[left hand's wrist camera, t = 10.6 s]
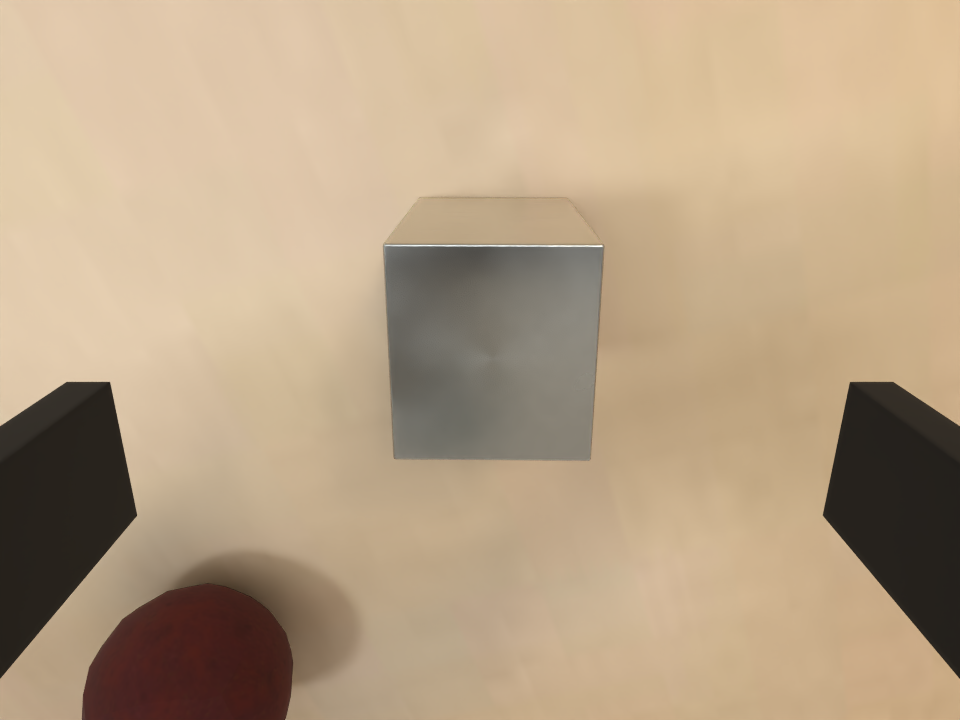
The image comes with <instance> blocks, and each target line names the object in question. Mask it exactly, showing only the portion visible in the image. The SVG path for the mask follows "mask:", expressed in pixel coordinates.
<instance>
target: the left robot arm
mask: <svg viewBox="0 0 960 720" xmlns="http://www.w3.org/2000/svg"><path fill="white" fill-rule="evenodd" d="M136 516H137V512H136V508H135V503H134V498H133V493H132V488H131V483H130V478H129V473H128V468H127V463H126V458H125V453H124V448H123V444H122V439H121V434H120V429H119V424H118V419H117V414H116V409H115V404H114V399H113V394H112V389H111V385H110V382H66V383H65V384H63V385H62V386H60V387H59V388H57V389H56V390H54V391H53V392H51V393H50V394H48V395H47V396H45V397H44V398H42V399H41V400H39V401H38V402H36V403H35V404H33V405H32V406H30V407H29V408H27V409H26V410H24V411H23V412H21V413H20V414H18V415H17V416H15V417H14V418H12V419H11V420H9V421H8V422H6V423H5V424H3V425H2V426H0V678H1V677H2V676H3V675H4V674H5V672H6V671H7V670H8V669H9V668H10V666H11V665H12V664H13V663H14V662H15V660H16V659H17V658H18V657H19V656H20V654H21V653H22V652H23V651H24V650H25V648H26V647H27V646H28V645H29V644H30V643H31V641H32V640H33V639H34V638H35V637H36V635H37V634H38V633H39V632H40V631H41V629H42V628H43V627H44V626H45V625H46V623H47V622H48V621H49V620H50V619H51V618H52V616H53V615H54V614H55V613H56V612H57V610H58V609H59V608H60V607H61V606H62V604H63V603H64V602H65V601H66V600H67V598H68V597H69V596H70V595H71V594H72V592H73V591H74V590H75V589H76V588H77V587H78V585H79V584H80V583H81V582H82V581H83V579H84V578H85V577H86V576H87V575H88V573H89V572H90V571H91V570H92V569H93V567H94V566H95V565H96V564H97V563H98V562H99V560H100V559H101V558H102V557H103V556H104V554H105V553H106V552H107V551H108V550H109V548H110V547H111V546H112V545H113V544H114V542H115V541H116V540H117V539H118V538H119V536H120V535H121V534H122V533H123V532H124V531H125V529H126V528H127V527H128V526H129V525H130V523H131V522H132V521H133V520H134V519H135V517H136ZM823 516H824V517H825V519H826V520H827V521H828V522H829V523H830V525H831V526H832V527H833V528H834V529H835V531H836V532H837V533H838V534H839V535H840V536H841V538H842V539H843V540H844V541H845V542H846V544H847V545H848V546H849V547H850V548H851V550H852V551H853V552H854V553H855V554H856V556H857V557H858V558H859V559H860V560H861V562H862V563H863V564H864V565H865V566H866V567H867V569H868V570H869V571H870V572H871V573H872V575H873V576H874V577H875V578H876V579H877V581H878V582H879V583H880V584H881V585H882V587H883V588H884V589H885V590H886V591H887V592H888V594H889V595H890V596H891V597H892V598H893V600H894V601H895V602H896V603H897V604H898V606H899V607H900V608H901V609H902V610H903V612H904V613H905V614H906V615H907V616H908V618H909V619H910V620H911V621H912V622H913V623H914V625H915V626H916V627H917V628H918V629H919V631H920V632H921V633H922V634H923V635H924V637H925V638H926V639H927V640H928V641H929V643H930V644H931V645H932V646H933V647H934V648H935V650H936V651H937V652H938V653H939V654H940V656H941V657H942V658H943V659H944V660H945V662H946V663H947V664H948V665H949V666H950V668H951V669H952V670H953V671H954V672H955V674H956V675H957V676H958V677H959V678H960V426H958V425H957V424H955V423H954V422H952V421H951V420H949V419H948V418H946V417H945V416H943V415H942V414H940V413H939V412H937V411H936V410H934V409H933V408H931V407H930V406H928V405H927V404H925V403H924V402H922V401H921V400H919V399H918V398H916V397H915V396H913V395H912V394H910V393H909V392H907V391H906V390H904V389H903V388H901V387H900V386H898V385H897V384H895V383H894V382H850V385H849V389H848V394H847V399H846V404H845V409H844V414H843V419H842V424H841V429H840V434H839V439H838V444H837V448H836V453H835V458H834V463H833V468H832V473H831V478H830V483H829V488H828V493H827V498H826V503H825V508H824V512H823Z"/></svg>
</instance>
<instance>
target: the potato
mask: <svg viewBox="0 0 960 720" xmlns="http://www.w3.org/2000/svg"><path fill="white" fill-rule="evenodd" d="M292 671H293V659H292V653H291V649H290V645H289V642H288V639H287V636H286V633H285V631H284V630H283V629H282V627H281V626H280V624H279V623H278V622H277V620H276V619H275V618H274V616H273V615H272V614H271V612H270V611H269V610H268V609H266V608H265V607H264V606H263V605H262V604H260V603H259V602H257V601H256V600H254V599H253V598H252V597H250V596H248V595H245V594H243V593H241V592H238V591H236V590H233V589H230V588H228V587H224V586H219V585H213V584H208V583H207V584H202V585H197V586H191V587H186V588H181V589H176V590H171V591H167V592H165V593H164V594H162V595H160V596H158V597H157V598H155V599H153V600H151V601H150V602H148V603H146V604H144V605H143V606H141V607H139V608H138V609H136V610H135V611H133V612H132V613H131V614H129V615H128V616H127V617H125V618H124V619H122V621H121V622H120V623H119V625H118V626H117V627H116V628H115V630H114V631H113V632H112V634H111V635H110V636H109V638H108V639H107V640H106V642H105V643H104V644H103V645H102V647H101V649H100V650H99V652H98V654H97V655H96V657H95V659H94V660H93V662H92V664H91V665H90V667H89V671H88V676H87V680H86V685H85V689H84V694H83V708H82V720H285V719H286V715H287V711H288V706H289V702H290V697H291V685H292Z"/></svg>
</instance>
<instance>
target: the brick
mask: <svg viewBox="0 0 960 720" xmlns="http://www.w3.org/2000/svg"><path fill="white" fill-rule="evenodd" d="M383 256H384V276H385V296H386V316H387V336H388V355H389V375H390V395H391V415H392V435H393V455H394V459H449V460H566V461H589V460H590V459H591V446H592V430H593V415H594V399H595V384H596V368H597V353H598V337H599V322H600V307H601V291H602V276H603V260H604V244H603V243H602V242H601V240H600V239H599V238H598V237H597V235H596V234H595V233H594V231H593V230H592V229H591V228H590V226H589V225H588V224H587V223H586V221H585V220H584V219H583V217H582V216H581V215H580V214H579V212H578V211H577V210H576V208H575V207H574V206H573V205H572V203H571V202H570V201H569V200H568V198H419V199H418V200H417V201H416V203H415V204H414V205H413V206H412V208H411V209H410V210H409V212H408V213H407V214H406V216H405V217H404V218H403V219H402V221H401V222H400V223H399V225H398V226H397V227H396V228H395V230H394V231H393V232H392V234H391V235H390V236H389V238H388V239H387V240H386V241H385V243H384V244H383Z"/></svg>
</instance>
